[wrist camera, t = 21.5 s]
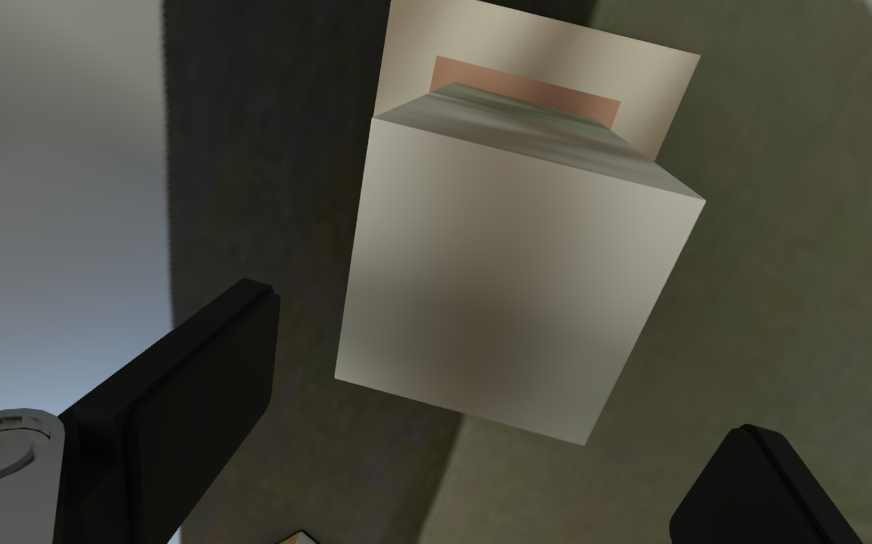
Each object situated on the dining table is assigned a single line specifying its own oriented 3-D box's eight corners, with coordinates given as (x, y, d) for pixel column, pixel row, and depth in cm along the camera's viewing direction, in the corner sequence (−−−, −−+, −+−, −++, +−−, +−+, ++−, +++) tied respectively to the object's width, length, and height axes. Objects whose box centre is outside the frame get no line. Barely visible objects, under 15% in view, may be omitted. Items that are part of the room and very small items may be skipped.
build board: (689, 55, 18) (701, 55, 17) (582, 306, 24) (585, 319, 23) (401, -16, 19) (394, -21, 18) (359, 246, 24) (351, 256, 23)
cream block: (627, 142, 13) (706, 200, 8) (559, 314, 16) (584, 446, 11) (427, 93, 14) (371, 117, 8) (392, 271, 16) (334, 377, 11)
